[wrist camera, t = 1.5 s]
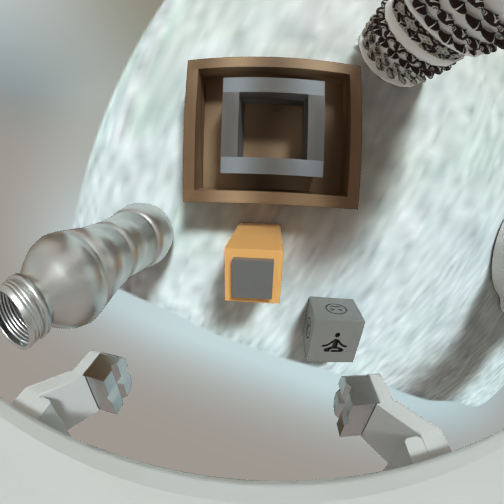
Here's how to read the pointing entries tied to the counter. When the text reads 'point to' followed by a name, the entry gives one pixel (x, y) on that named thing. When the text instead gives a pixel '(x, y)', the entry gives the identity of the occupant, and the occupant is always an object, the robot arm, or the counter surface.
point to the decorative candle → (429, 36)
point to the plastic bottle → (80, 272)
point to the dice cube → (332, 329)
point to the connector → (254, 263)
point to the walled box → (272, 132)
